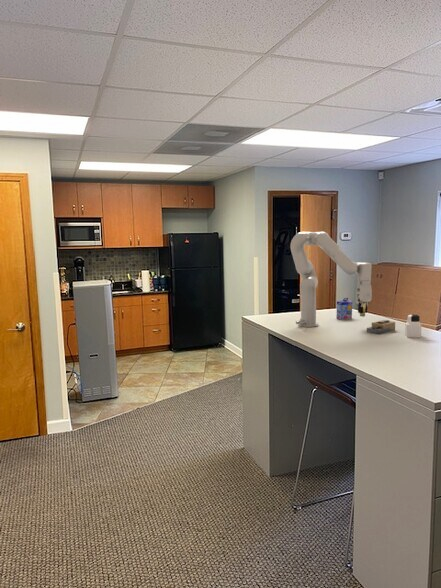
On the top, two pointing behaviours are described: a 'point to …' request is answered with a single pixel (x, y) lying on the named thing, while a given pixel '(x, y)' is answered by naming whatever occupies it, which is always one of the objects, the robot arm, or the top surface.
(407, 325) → the medicine bottle
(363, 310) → the pin
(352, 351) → the top surface
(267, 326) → the top surface
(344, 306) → the ink cartridge box
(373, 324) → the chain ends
